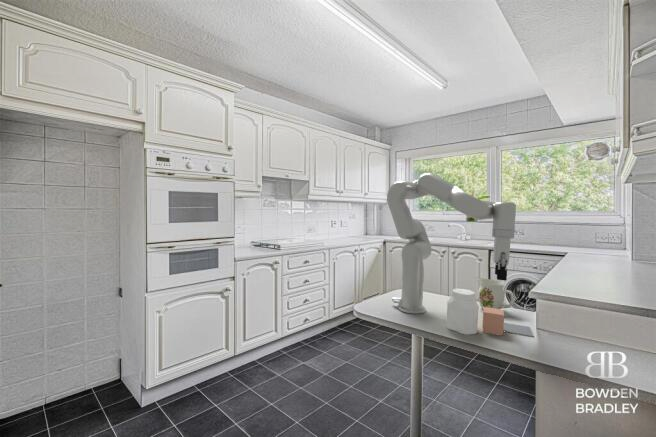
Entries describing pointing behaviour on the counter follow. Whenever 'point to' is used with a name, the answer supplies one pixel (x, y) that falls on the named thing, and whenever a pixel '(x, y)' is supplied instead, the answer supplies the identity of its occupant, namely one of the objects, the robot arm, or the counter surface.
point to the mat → (518, 329)
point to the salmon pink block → (493, 320)
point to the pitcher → (492, 294)
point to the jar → (462, 312)
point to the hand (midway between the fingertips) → (500, 277)
